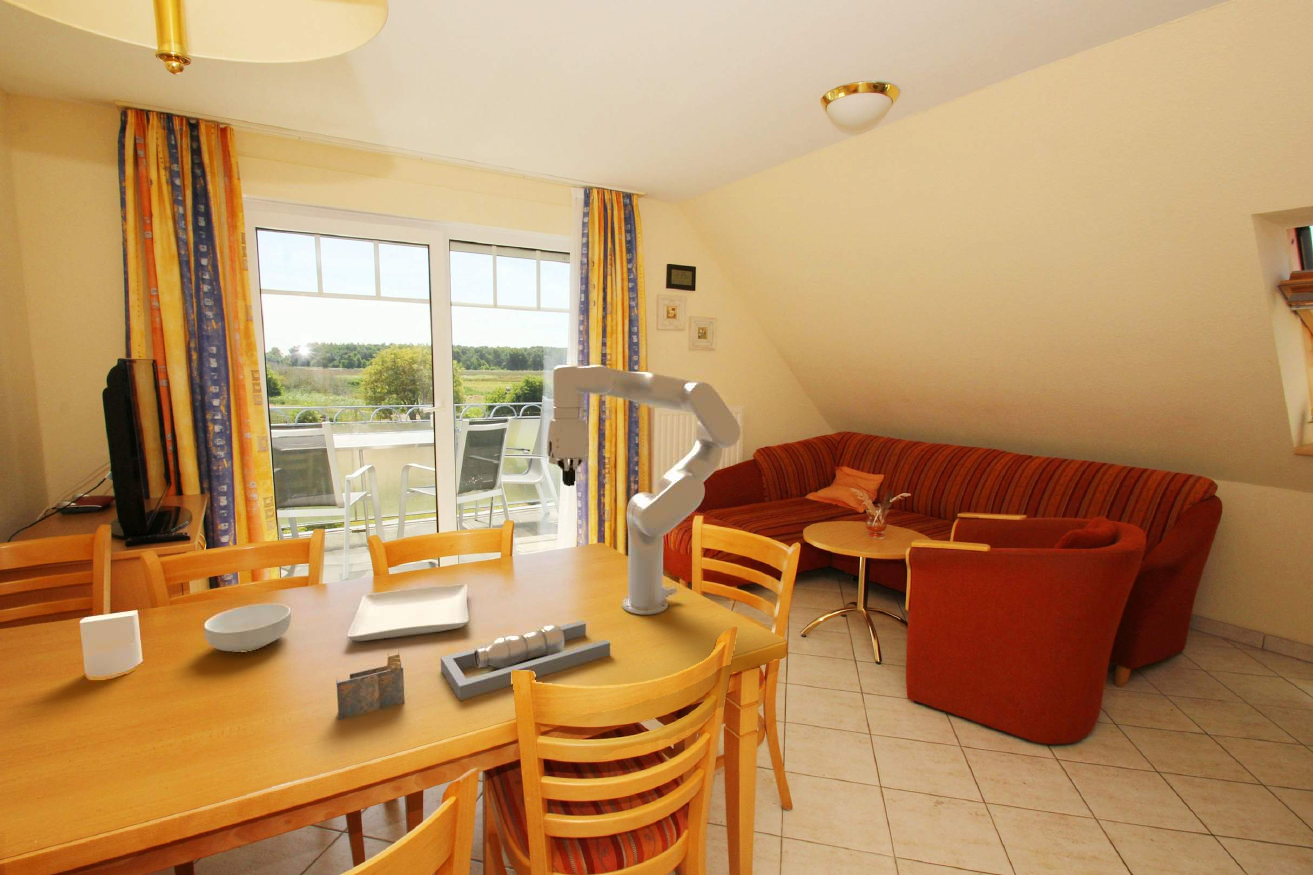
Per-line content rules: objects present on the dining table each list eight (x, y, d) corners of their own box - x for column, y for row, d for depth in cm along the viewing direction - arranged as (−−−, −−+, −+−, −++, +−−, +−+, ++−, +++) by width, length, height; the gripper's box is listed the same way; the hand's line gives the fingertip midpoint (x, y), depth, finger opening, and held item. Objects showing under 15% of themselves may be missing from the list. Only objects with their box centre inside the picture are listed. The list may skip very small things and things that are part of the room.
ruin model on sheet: (402, 697, 118) (400, 650, 117) (404, 704, 116) (402, 657, 114) (338, 713, 112) (335, 665, 111) (339, 721, 110) (336, 672, 109)
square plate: (467, 594, 171) (467, 581, 170) (469, 635, 145) (468, 620, 145) (364, 605, 162) (363, 591, 162) (346, 651, 137) (345, 635, 136)
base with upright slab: (78, 685, 120) (72, 629, 119) (94, 665, 128) (89, 612, 127) (135, 674, 125) (130, 620, 123) (148, 656, 132) (143, 604, 131)
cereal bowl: (302, 645, 139) (300, 616, 138) (215, 671, 126) (212, 639, 126) (280, 623, 150) (278, 596, 149) (199, 645, 138) (196, 616, 137)
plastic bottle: (568, 628, 135) (482, 649, 123) (567, 656, 135) (481, 680, 124) (555, 618, 140) (471, 637, 128) (555, 645, 140) (471, 667, 129)
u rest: (582, 632, 147) (582, 620, 146) (610, 655, 135) (610, 642, 135) (441, 670, 128) (440, 657, 127) (459, 700, 116) (459, 686, 116)
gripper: (587, 412, 158) (587, 479, 160) (535, 414, 149) (536, 485, 152) (601, 414, 152) (601, 484, 154) (547, 416, 143) (548, 490, 145)
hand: (569, 484), depth 153 cm, fingers closed
